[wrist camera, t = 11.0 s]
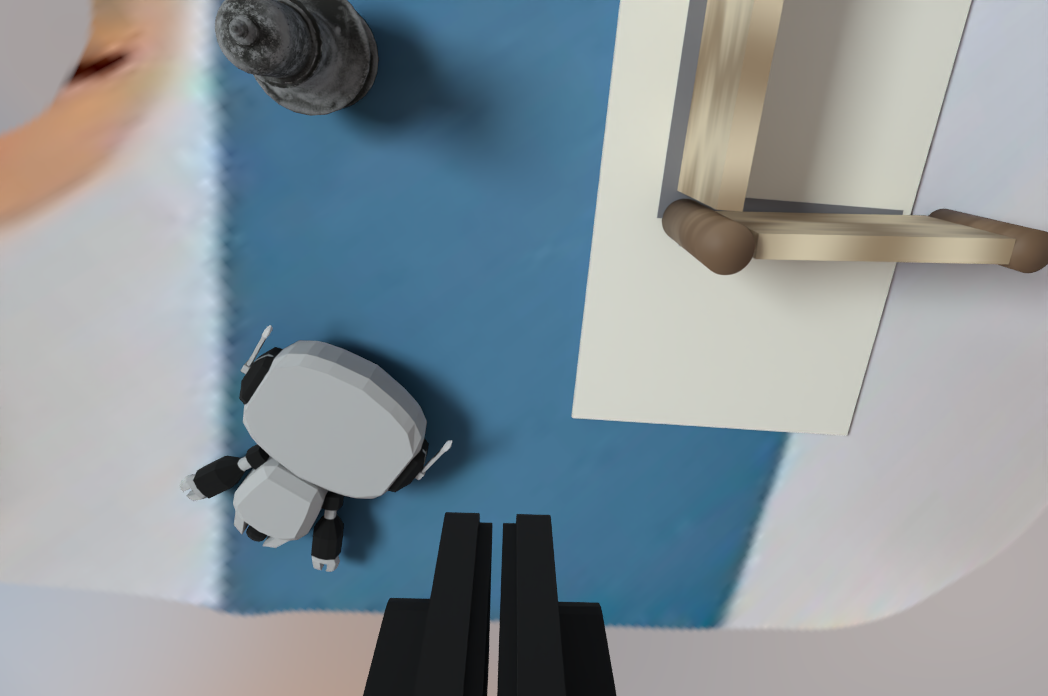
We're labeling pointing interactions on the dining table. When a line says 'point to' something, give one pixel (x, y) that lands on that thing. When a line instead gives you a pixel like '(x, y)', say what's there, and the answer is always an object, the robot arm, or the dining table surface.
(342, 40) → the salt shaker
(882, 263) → the card
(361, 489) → the robot toy
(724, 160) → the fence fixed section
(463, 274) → the dining table surface
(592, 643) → the robot arm
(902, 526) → the dining table surface
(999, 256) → the fence swing section
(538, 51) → the dining table surface
